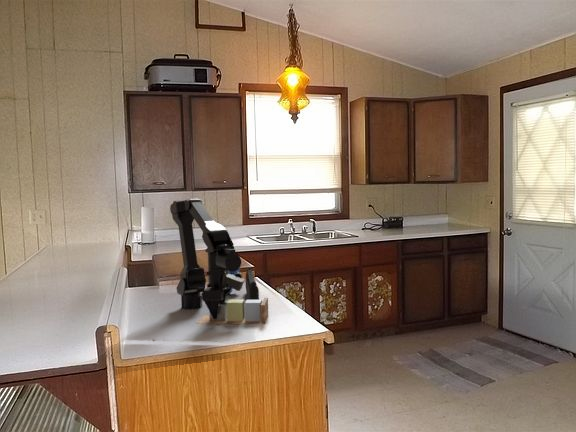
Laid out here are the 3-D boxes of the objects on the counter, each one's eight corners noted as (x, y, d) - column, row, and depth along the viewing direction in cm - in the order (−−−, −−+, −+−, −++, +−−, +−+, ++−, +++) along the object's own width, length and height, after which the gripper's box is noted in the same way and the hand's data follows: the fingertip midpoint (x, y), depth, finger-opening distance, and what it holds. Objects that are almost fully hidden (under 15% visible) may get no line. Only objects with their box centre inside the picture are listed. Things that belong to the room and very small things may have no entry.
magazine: (259, 289, 160) (253, 251, 187) (249, 289, 159) (245, 251, 187) (259, 331, 166) (253, 288, 194) (250, 332, 165) (245, 289, 193)
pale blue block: (245, 321, 150) (244, 302, 149) (247, 317, 154) (246, 299, 153) (260, 321, 149) (260, 302, 149) (262, 317, 153) (261, 299, 153)
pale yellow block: (227, 321, 150) (226, 302, 150) (229, 317, 154) (229, 299, 154) (242, 321, 150) (242, 302, 149) (244, 317, 154) (244, 299, 153)
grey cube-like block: (209, 321, 151) (209, 305, 150) (212, 317, 155) (212, 302, 154) (225, 321, 150) (224, 305, 150) (227, 317, 154) (227, 302, 154)
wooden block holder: (196, 326, 149) (195, 304, 148) (203, 318, 158) (202, 297, 157) (264, 326, 147) (264, 304, 146) (268, 318, 156) (268, 297, 155)
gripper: (236, 273, 141) (237, 323, 142) (246, 262, 160) (247, 307, 161) (200, 273, 142) (201, 323, 143) (214, 262, 161) (215, 306, 162)
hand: (218, 314), depth 152 cm, fingers open, 9 cm apart
